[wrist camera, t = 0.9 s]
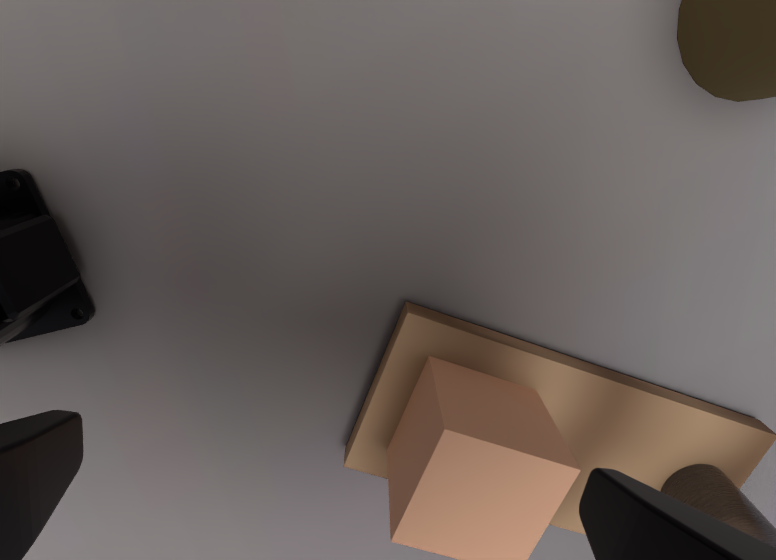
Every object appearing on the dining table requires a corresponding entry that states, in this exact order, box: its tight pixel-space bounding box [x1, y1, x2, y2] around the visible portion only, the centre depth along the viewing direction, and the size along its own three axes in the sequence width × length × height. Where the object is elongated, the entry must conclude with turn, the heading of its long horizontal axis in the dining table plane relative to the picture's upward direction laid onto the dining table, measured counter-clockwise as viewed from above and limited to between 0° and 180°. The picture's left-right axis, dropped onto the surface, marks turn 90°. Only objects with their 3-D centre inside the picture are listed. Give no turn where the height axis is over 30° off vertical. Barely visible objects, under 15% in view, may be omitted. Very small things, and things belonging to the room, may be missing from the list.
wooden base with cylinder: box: [344, 302, 776, 548], centre depth 18 cm, size 18×8×13 cm, turn 70°
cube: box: [387, 356, 581, 560], centre depth 20 cm, size 5×5×5 cm
